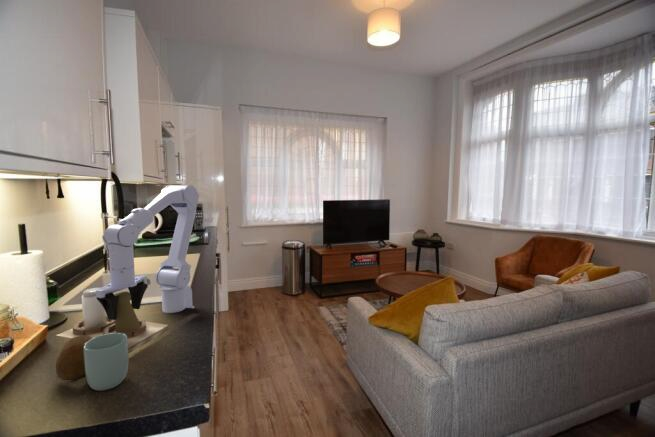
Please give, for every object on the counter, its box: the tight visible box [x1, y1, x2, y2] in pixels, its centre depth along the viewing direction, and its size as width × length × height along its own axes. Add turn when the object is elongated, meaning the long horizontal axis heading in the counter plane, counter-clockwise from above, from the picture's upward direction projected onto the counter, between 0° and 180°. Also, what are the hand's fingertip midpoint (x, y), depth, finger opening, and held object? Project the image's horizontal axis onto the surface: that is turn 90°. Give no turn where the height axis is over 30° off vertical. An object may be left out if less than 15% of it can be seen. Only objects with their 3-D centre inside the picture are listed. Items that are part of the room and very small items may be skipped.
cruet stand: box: [55, 316, 170, 354], centre depth 89 cm, size 14×25×3 cm, turn 76°
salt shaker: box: [81, 287, 107, 329], centre depth 90 cm, size 6×6×11 cm
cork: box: [114, 291, 141, 333], centre depth 88 cm, size 6×6×11 cm
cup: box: [83, 333, 130, 392], centre depth 67 cm, size 8×8×10 cm
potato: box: [55, 336, 93, 381], centre depth 71 cm, size 8×12×9 cm
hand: (124, 313), depth 88 cm, fingers open, 7 cm apart
